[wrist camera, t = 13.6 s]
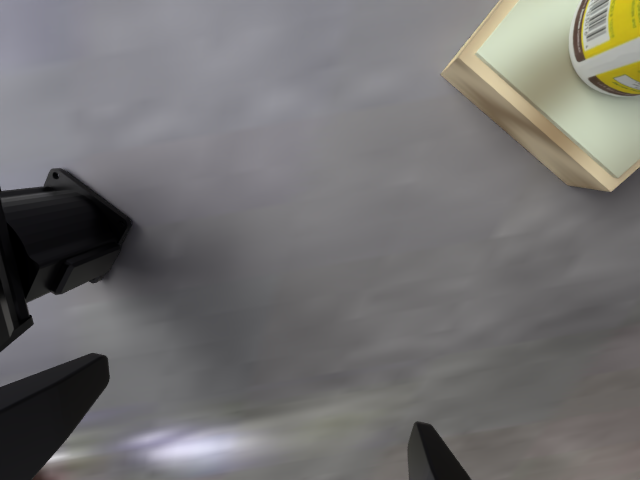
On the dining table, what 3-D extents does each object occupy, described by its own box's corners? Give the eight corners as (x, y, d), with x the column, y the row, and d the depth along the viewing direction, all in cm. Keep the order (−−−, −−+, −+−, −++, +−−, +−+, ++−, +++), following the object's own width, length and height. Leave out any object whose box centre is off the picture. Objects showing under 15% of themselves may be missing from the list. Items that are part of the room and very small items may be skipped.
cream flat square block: (440, 74, 17) (460, 55, 13) (595, -120, 14) (670, -205, 11) (567, 185, 18) (616, 192, 14) (740, 24, 15) (853, -14, 11)
